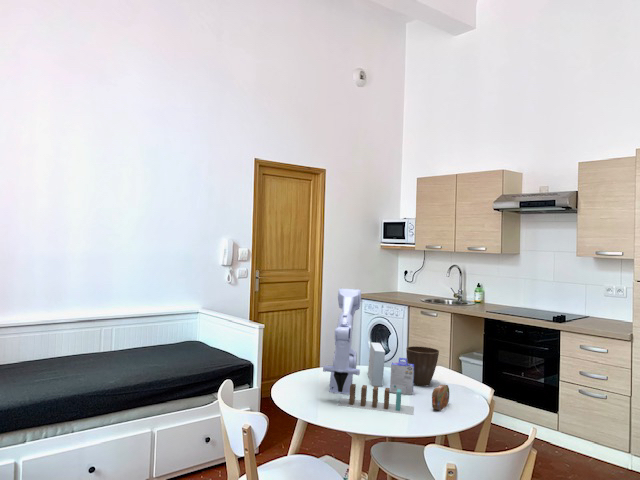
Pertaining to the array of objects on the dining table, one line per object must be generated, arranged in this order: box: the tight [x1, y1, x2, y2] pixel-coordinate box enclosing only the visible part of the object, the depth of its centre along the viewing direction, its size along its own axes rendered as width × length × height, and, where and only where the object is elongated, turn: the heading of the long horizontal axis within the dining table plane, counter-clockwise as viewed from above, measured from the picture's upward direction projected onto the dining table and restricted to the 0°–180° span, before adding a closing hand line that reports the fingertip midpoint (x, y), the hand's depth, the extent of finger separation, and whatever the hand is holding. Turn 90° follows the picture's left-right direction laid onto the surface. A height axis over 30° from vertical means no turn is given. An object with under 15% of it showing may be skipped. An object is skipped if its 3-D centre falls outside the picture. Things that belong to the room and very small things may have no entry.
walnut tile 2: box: [360, 384, 368, 406], centre depth 193 cm, size 2×4×7 cm, turn 167°
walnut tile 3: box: [371, 386, 379, 408], centre depth 192 cm, size 2×4×7 cm, turn 167°
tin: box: [431, 384, 450, 412], centre depth 195 cm, size 15×3×8 cm, turn 148°
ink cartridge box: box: [389, 357, 415, 396], centre depth 214 cm, size 10×6×14 cm, turn 78°
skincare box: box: [367, 342, 386, 387], centre depth 231 cm, size 21×5×16 cm, turn 179°
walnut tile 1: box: [348, 383, 357, 405], centre depth 194 cm, size 2×4×7 cm, turn 167°
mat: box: [336, 397, 415, 416], centre depth 192 cm, size 29×10×1 cm, turn 77°
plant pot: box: [406, 345, 440, 387], centre depth 228 cm, size 15×15×16 cm
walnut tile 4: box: [383, 387, 391, 409], centre depth 191 cm, size 2×4×7 cm, turn 167°
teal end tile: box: [395, 389, 402, 411], centre depth 190 cm, size 2×4×7 cm, turn 167°
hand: (340, 391), depth 195 cm, fingers closed
